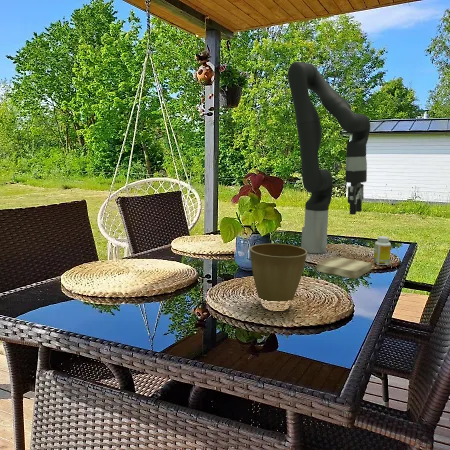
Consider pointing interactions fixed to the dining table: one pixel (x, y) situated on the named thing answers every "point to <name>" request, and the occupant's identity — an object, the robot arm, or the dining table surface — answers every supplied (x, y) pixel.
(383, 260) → the supplement bottle
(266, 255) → the plant pot
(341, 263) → the birch board
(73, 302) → the dining table surface
